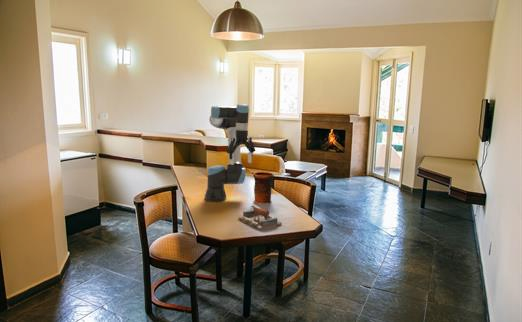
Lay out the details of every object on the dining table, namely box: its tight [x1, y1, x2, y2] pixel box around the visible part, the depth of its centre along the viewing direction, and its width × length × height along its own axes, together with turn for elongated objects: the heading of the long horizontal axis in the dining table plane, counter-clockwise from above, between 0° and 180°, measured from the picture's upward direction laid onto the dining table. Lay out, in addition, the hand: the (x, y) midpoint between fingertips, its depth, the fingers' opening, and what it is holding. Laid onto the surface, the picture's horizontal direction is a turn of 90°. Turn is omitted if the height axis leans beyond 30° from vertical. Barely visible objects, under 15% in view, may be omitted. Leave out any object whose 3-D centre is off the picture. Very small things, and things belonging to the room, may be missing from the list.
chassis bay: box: [237, 208, 283, 231], centre depth 212 cm, size 21×16×4 cm
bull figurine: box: [251, 203, 270, 220], centre depth 211 cm, size 4×13×8 cm, turn 47°
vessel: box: [253, 171, 275, 205], centre depth 252 cm, size 14×14×20 cm
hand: (240, 163), depth 226 cm, fingers open, 13 cm apart
